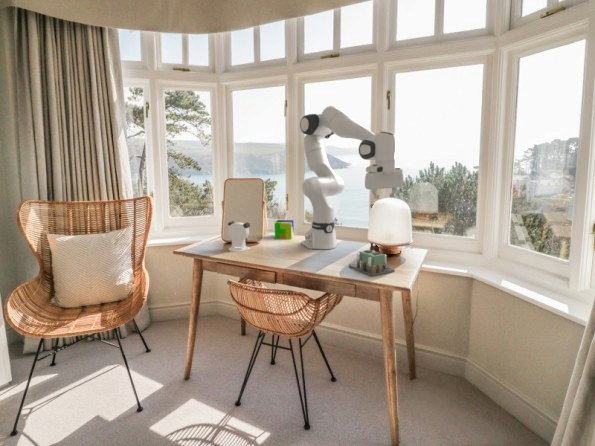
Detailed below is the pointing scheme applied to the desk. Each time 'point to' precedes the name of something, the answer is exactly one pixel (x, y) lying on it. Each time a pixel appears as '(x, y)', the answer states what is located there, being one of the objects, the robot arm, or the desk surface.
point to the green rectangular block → (376, 257)
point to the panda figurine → (239, 236)
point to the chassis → (371, 267)
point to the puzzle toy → (284, 229)
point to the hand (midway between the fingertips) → (384, 198)
